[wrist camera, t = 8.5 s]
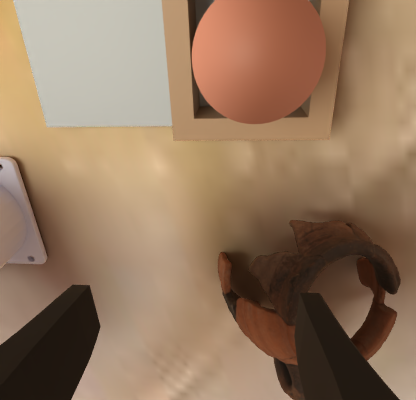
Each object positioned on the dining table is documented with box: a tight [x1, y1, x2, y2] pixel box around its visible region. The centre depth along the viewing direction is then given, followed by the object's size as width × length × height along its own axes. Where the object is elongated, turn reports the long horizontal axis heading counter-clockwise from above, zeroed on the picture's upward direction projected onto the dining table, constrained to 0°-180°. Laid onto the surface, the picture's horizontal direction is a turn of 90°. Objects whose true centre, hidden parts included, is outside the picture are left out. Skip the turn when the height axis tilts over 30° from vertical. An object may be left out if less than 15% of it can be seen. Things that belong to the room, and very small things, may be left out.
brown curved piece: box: [218, 220, 400, 400], centre depth 21 cm, size 12×10×8 cm
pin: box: [192, 0, 326, 124], centre depth 12 cm, size 4×4×7 cm
